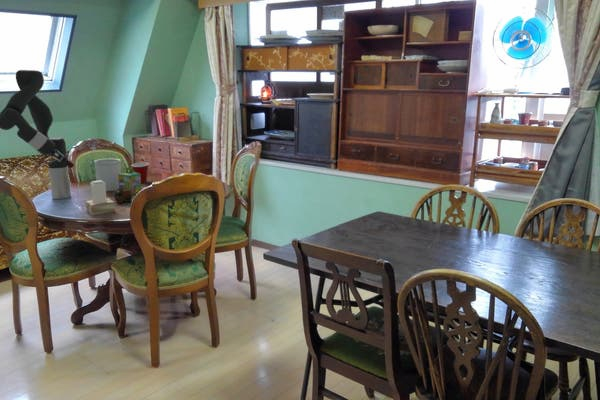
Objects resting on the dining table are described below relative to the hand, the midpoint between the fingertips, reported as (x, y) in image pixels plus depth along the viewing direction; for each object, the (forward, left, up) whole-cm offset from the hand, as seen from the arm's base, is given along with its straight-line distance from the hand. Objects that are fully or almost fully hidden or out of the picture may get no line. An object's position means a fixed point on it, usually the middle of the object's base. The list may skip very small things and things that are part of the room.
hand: (70, 165), depth 239 cm
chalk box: (-47, +8, -24) cm, 54 cm away
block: (-6, +10, -24) cm, 27 cm away
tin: (-6, +10, -19) cm, 22 cm away
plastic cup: (-78, +2, -24) cm, 82 cm away
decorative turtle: (-26, +13, -24) cm, 38 cm away
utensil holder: (-57, -9, -24) cm, 63 cm away
